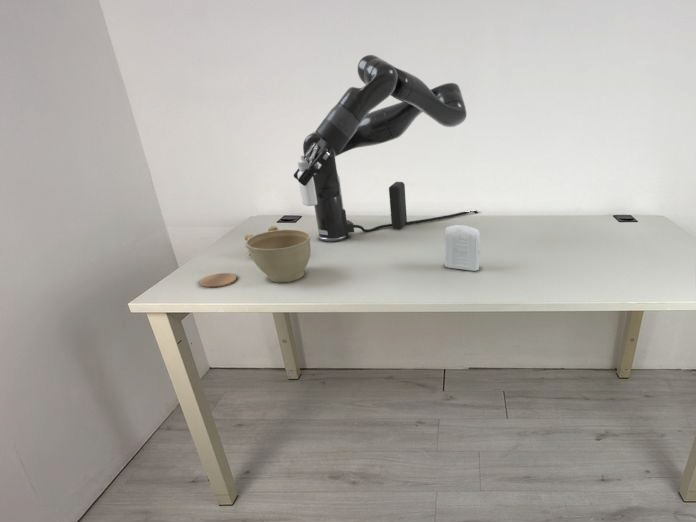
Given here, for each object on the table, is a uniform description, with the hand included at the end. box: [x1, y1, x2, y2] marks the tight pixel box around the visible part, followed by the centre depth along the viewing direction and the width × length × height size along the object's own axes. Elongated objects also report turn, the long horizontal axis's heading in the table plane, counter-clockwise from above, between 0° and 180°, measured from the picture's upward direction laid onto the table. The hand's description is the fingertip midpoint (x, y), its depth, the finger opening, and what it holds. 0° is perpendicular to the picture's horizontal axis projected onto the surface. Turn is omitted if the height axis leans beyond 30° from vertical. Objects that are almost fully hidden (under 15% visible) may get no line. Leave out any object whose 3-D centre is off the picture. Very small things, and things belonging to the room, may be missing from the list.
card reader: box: [388, 181, 408, 230], centre depth 169 cm, size 9×4×15 cm, turn 172°
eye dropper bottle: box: [297, 155, 317, 207], centre depth 122 cm, size 4×6×12 cm
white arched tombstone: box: [444, 224, 481, 272], centre depth 134 cm, size 10×4×12 cm, turn 72°
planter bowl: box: [245, 229, 312, 283], centre depth 128 cm, size 16×16×11 cm
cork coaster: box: [199, 273, 237, 289], centre depth 128 cm, size 9×9×1 cm
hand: (298, 180), depth 121 cm, fingers closed on eye dropper bottle, 5 cm apart
